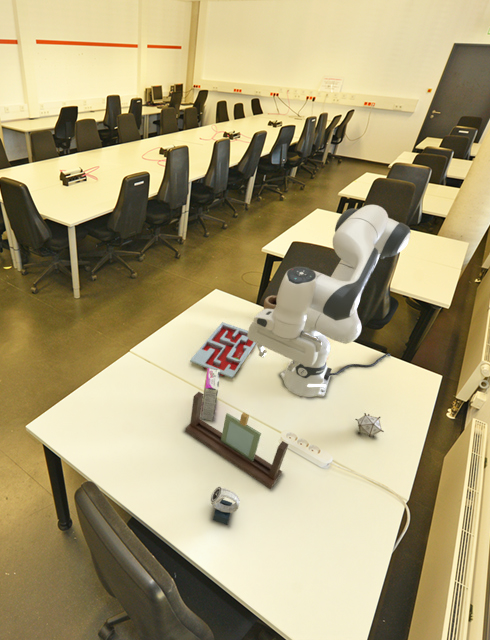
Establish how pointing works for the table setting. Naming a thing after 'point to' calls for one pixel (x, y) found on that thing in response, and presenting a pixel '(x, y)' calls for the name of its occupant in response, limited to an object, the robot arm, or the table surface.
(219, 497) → the watch
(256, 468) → the window frame
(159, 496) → the table surface
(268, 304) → the stone cup
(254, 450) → the window pane
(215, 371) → the candy bar box
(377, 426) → the game die
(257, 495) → the table surface
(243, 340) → the maze game
